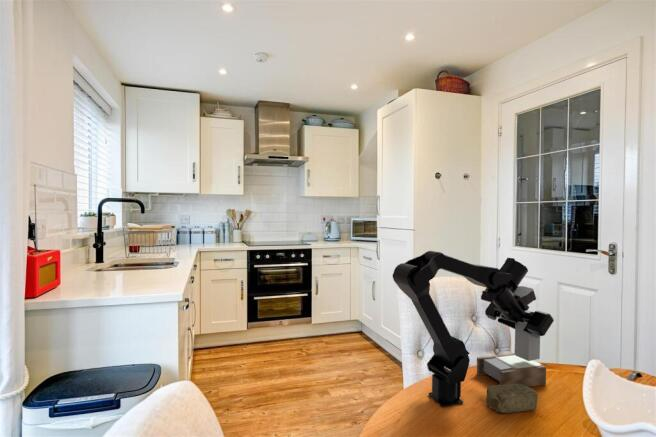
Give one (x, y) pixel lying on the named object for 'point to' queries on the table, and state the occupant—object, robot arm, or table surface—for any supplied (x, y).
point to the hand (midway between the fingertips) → (530, 333)
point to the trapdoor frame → (516, 373)
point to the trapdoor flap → (506, 365)
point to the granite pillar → (526, 343)
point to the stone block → (511, 398)
